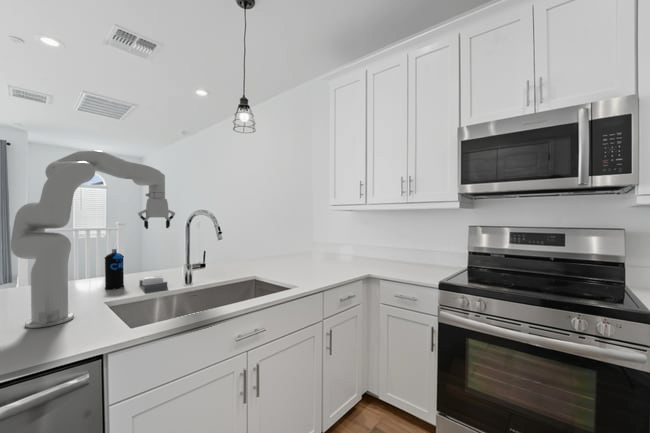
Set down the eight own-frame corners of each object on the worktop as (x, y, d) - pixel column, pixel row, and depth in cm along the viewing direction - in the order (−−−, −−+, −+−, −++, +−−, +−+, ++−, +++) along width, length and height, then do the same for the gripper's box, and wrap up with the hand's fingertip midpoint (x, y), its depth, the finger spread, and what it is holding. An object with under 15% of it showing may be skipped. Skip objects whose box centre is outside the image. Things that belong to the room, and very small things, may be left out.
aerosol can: (100, 289, 148) (100, 249, 147) (116, 285, 155) (116, 247, 155) (112, 290, 145) (112, 250, 145) (128, 286, 153) (127, 248, 153)
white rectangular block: (143, 282, 149) (142, 277, 149) (163, 280, 154) (163, 275, 154) (142, 284, 145) (142, 279, 145) (163, 282, 149) (163, 277, 149)
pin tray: (167, 289, 147) (167, 282, 147) (144, 292, 140) (144, 285, 140) (160, 283, 159) (160, 277, 159) (139, 286, 152) (139, 279, 152)
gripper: (139, 195, 146) (139, 229, 146) (176, 196, 157) (176, 228, 158) (136, 195, 152) (137, 228, 152) (173, 197, 163) (173, 227, 163)
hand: (157, 228), depth 155 cm, fingers open, 9 cm apart
